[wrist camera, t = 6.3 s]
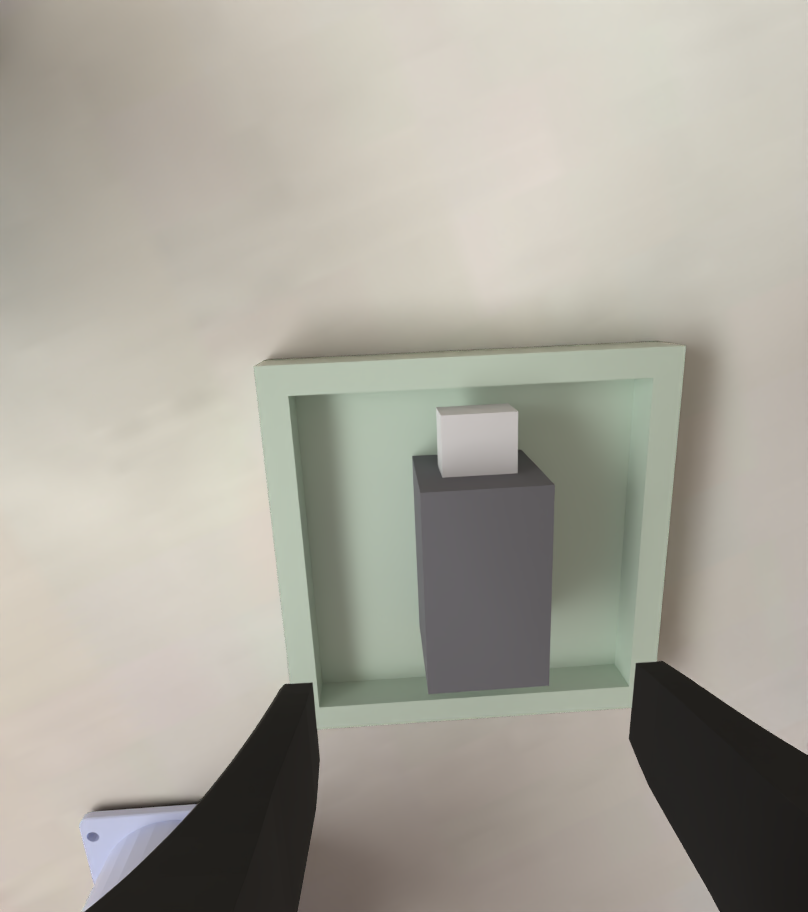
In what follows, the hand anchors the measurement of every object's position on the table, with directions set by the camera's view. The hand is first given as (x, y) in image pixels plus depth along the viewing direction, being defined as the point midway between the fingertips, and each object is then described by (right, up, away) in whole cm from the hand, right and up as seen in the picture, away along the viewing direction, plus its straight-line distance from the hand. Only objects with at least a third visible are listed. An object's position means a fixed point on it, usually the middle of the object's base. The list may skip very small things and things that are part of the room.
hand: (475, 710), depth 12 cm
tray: (+1, +3, +10) cm, 10 cm away
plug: (+1, +2, +9) cm, 9 cm away
